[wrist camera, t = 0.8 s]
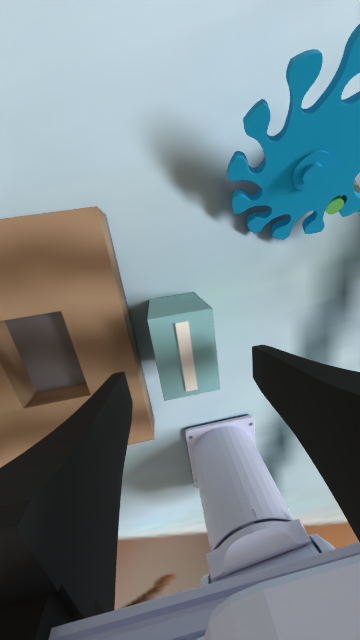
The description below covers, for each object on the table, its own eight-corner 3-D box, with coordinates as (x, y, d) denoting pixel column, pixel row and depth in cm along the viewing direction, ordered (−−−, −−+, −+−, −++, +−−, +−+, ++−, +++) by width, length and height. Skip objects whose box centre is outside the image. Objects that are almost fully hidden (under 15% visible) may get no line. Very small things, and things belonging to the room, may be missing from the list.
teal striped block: (201, 351, 20) (220, 390, 14) (161, 358, 19) (164, 402, 13) (193, 291, 18) (213, 308, 12) (149, 299, 17) (147, 320, 12)
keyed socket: (154, 419, 21) (154, 439, 19) (20, 447, 20) (2, 472, 18) (105, 214, 15) (96, 206, 13) (-94, 241, 14) (-145, 238, 12)
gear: (197, 203, 14) (373, -78, 6) (202, 162, 17) (326, -65, 9) (299, 266, 18) (487, 149, 10) (290, 225, 21) (430, 108, 13)
